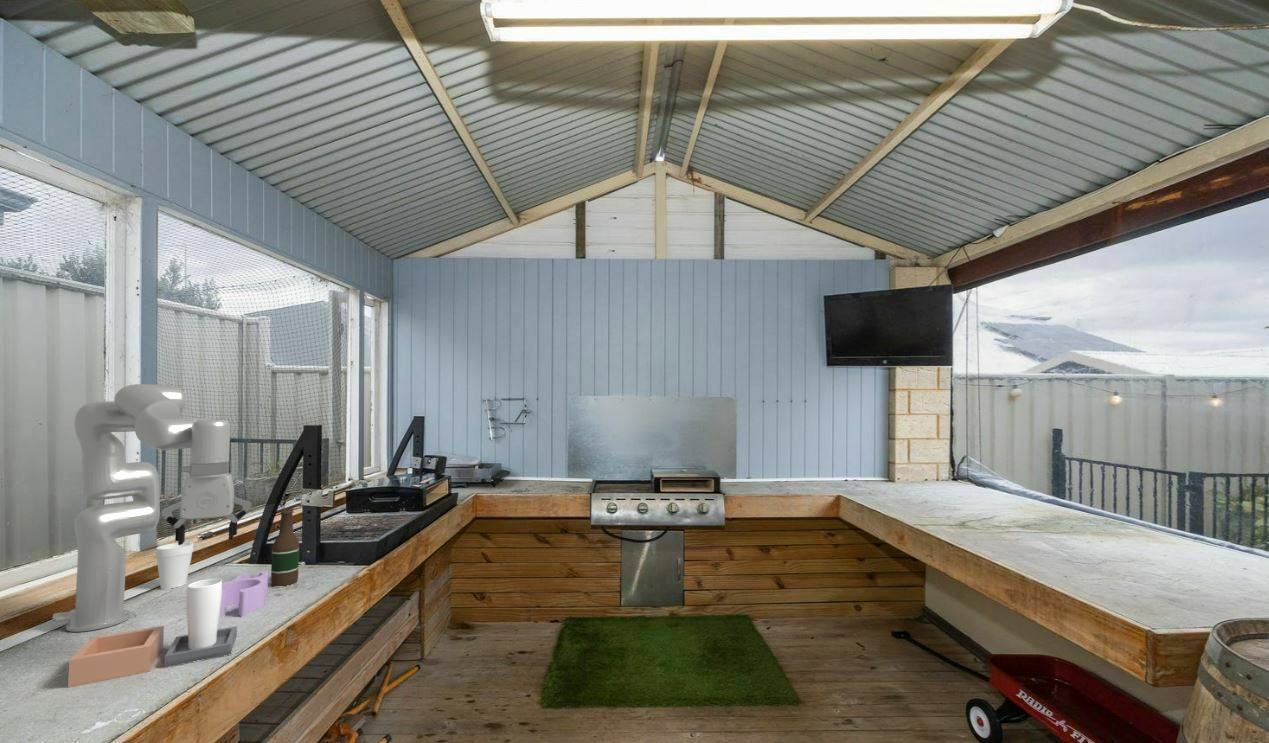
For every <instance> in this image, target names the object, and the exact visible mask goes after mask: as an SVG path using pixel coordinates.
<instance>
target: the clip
mask: <svg viewBox="0 0 1269 743" xmlns="http://www.w3.org/2000/svg"><path fill="white" fill-rule="evenodd" d="M251 575H252V573H251V572H247V573H246V572H245V573H242V574H239V575H237V576H235V578H234V579H233V580H230V581H226V582H224V583H223V582H222V600H221V607H220V614H219V618H220V617H222V618H224V617H225V616H224V615H226V616H227V607H226V606H229V605H232V604H236V605H238V616H239V615H240V616H245V615H247V616H248V614H250V613H249V612H252V613H254V612H253V611H255V610H257V611H259V610H261V609H263V608H264V607H265V606H266V601H267V600H266V598H267V597H268V596H267V595H269V593H268V591H269V590H268V589H269V588H268V586H269V572H268V571H260V572H259V576H254V577H252V576H251ZM266 596H267V597H266ZM237 603H239V604H237ZM264 605H265V606H264ZM232 606H233V605H232ZM263 606H264V607H263ZM229 607H230V606H229ZM262 607H263V608H262ZM260 608H261V609H260ZM258 609H259V610H258ZM255 612H256V611H255ZM247 613H248V614H247ZM223 616H224V617H223ZM240 616H239V617H240ZM245 617H246V616H245ZM220 619H221V618H220Z"/></svg>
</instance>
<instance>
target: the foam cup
mask: <svg viewBox="0 0 1269 743" xmlns="http://www.w3.org/2000/svg"><path fill="white" fill-rule="evenodd" d="M194 545H195V543H194V542H192V541H184V543H183V544H182V545H178V542H174V543H167V544H162V545H159V546H157V547H156V548H155V557H156V561H157V563H156V564H157V570H158V578H159V586H160V590H165V589H167V590H172V589H171V588H175V587H179V586H182V585H184V584H186V585H187V582H188V577H189V570H190V566H191V562H192V556H193V552H194V547H195V546H194ZM182 587H183V586H182ZM179 588H180V587H179ZM175 589H176V588H175Z"/></svg>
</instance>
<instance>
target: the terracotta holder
mask: <svg viewBox="0 0 1269 743" xmlns="http://www.w3.org/2000/svg"><path fill="white" fill-rule="evenodd" d="M164 629H165V626H164V625H159V626H154V627H147V628H142V629H136V630H135V629H134V630H129V631H122V632H118V633H110V634H105V635H99V636H93V637H90V638H89V639H88V640H86V642H85V643H84V644H83V645H82V646H81V647H80V649H78V651H77V652H76V653H75V654H74V655H73V656H72V657H71V658H70V659H69V661H68V663H69V664H68V667H69V668H68V679H67V680H68V681H67V683H68V684H67V687H68V688H71V687H72V688H73V687H77V686H81V685H88V684H92V683H98V682H103V681H108V680H112V679H119V678H124V677H129V676H134V675H139V674H143V673H148V672H150V671H151V670H152V668H153V667H154V664H155V663H156V662H157V660H156V659H158V658H159V656H160V654H161V653H162V651H163V650H164V635H165V633H164V632H165V630H164Z"/></svg>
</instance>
